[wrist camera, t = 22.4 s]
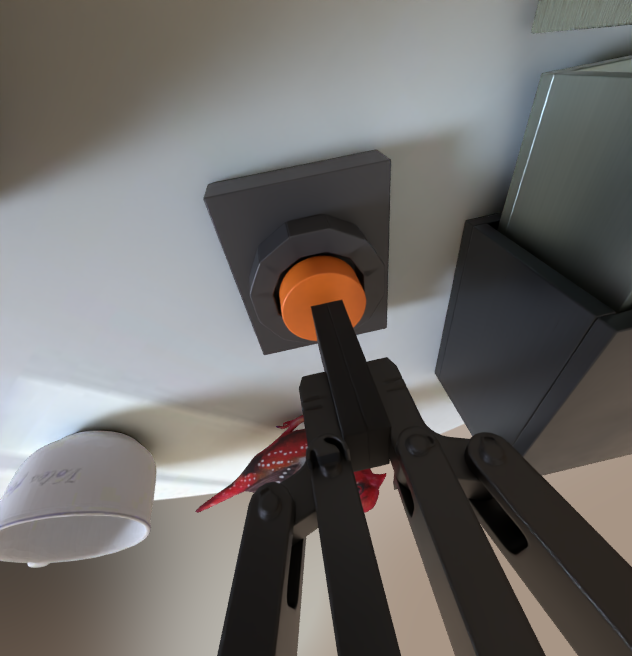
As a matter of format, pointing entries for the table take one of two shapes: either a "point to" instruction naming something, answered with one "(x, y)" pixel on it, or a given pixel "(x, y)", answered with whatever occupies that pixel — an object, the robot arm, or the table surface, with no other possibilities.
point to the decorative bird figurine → (290, 469)
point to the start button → (319, 292)
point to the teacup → (78, 500)
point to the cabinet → (535, 356)
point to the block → (305, 234)
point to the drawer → (578, 163)
